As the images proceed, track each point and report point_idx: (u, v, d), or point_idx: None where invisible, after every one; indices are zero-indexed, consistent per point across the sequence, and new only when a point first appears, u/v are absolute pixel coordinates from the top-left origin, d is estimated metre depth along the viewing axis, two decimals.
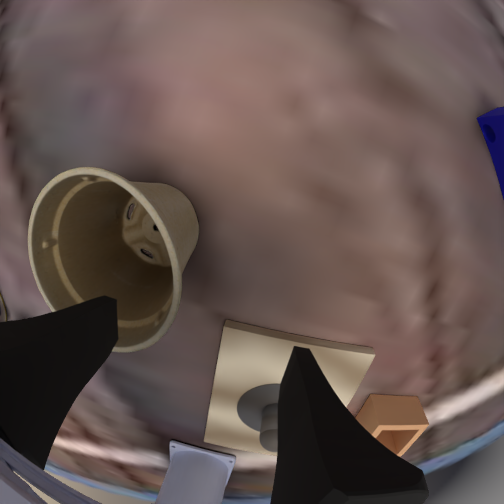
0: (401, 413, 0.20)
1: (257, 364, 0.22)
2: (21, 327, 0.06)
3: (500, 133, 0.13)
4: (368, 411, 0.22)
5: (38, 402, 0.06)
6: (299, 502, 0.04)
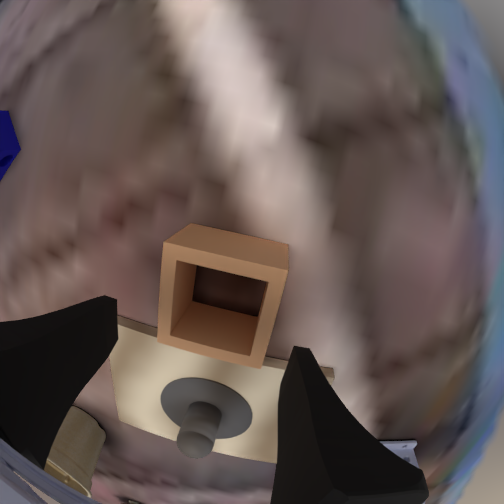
0: None
1: (145, 412, 0.21)
2: (21, 327, 0.06)
3: None
4: None
5: (38, 402, 0.06)
6: (299, 502, 0.04)
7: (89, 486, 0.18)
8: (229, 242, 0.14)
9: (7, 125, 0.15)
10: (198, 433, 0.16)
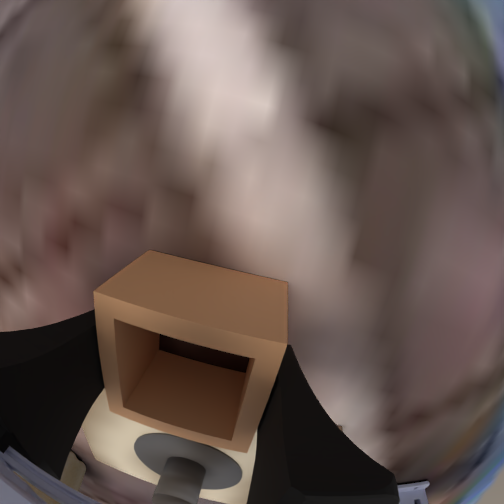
0: None
1: (120, 457, 0.16)
2: (37, 336, 0.06)
3: None
4: None
5: (55, 413, 0.06)
6: (266, 499, 0.04)
7: None
8: (197, 285, 0.09)
9: None
10: (176, 497, 0.11)
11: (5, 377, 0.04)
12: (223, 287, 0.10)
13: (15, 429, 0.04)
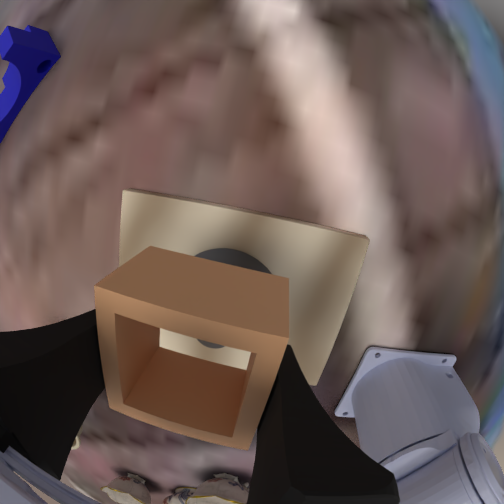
0: None
1: None
2: (37, 336, 0.06)
3: None
4: None
5: (55, 413, 0.06)
6: (266, 499, 0.04)
7: None
8: (198, 280, 0.09)
9: (48, 39, 0.14)
10: None
11: (5, 377, 0.04)
12: (224, 282, 0.10)
13: (15, 429, 0.04)
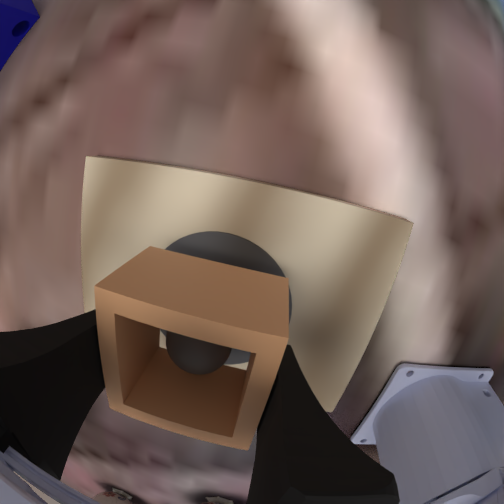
0: None
1: None
2: (36, 336, 0.06)
3: None
4: None
5: (55, 413, 0.06)
6: (266, 499, 0.04)
7: None
8: (198, 280, 0.09)
9: (28, 1, 0.09)
10: None
11: (5, 377, 0.04)
12: (224, 282, 0.10)
13: (15, 429, 0.04)
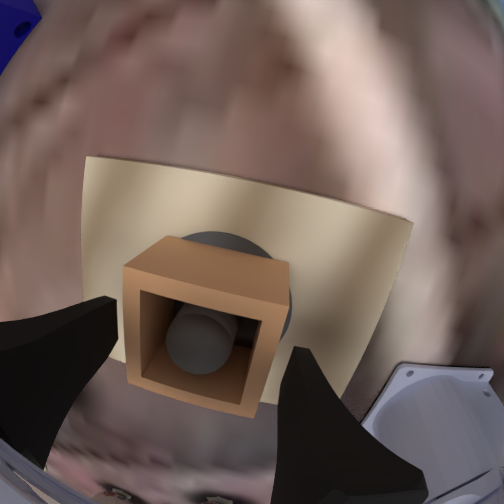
0: None
1: None
2: (21, 327, 0.06)
3: None
4: None
5: (38, 402, 0.06)
6: (299, 502, 0.04)
7: None
8: (211, 262, 0.11)
9: (30, 2, 0.09)
10: (207, 315, 0.10)
11: None
12: (233, 264, 0.11)
13: None
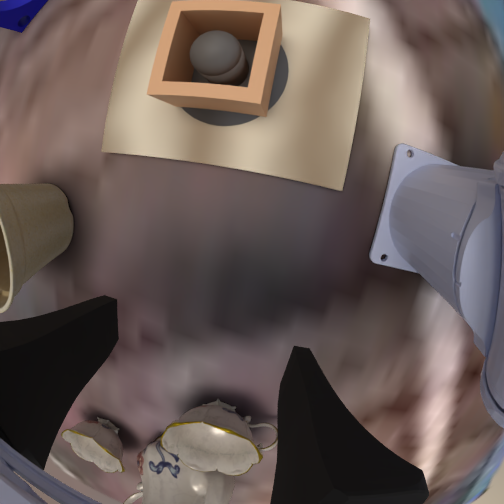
0: None
1: (143, 108, 0.16)
2: (21, 327, 0.06)
3: (15, 18, 0.12)
4: (183, 103, 0.14)
5: (38, 402, 0.06)
6: (299, 502, 0.04)
7: (17, 260, 0.13)
8: None
9: None
10: None
11: None
12: None
13: None
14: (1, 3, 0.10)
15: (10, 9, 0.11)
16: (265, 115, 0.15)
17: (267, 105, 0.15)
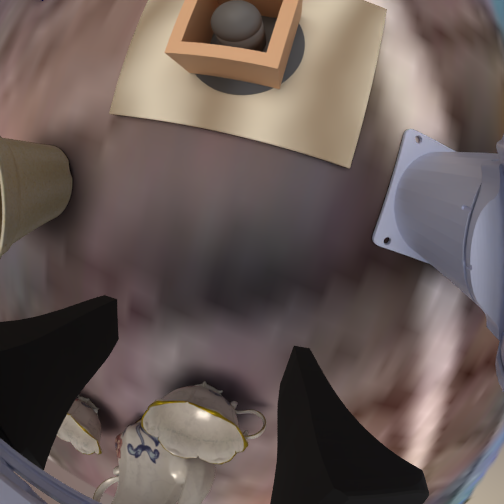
0: None
1: (156, 73, 0.15)
2: (21, 327, 0.06)
3: None
4: (198, 68, 0.14)
5: (38, 402, 0.06)
6: (299, 502, 0.04)
7: (11, 212, 0.12)
8: None
9: None
10: None
11: None
12: None
13: None
14: None
15: None
16: (279, 86, 0.14)
17: (281, 77, 0.14)
